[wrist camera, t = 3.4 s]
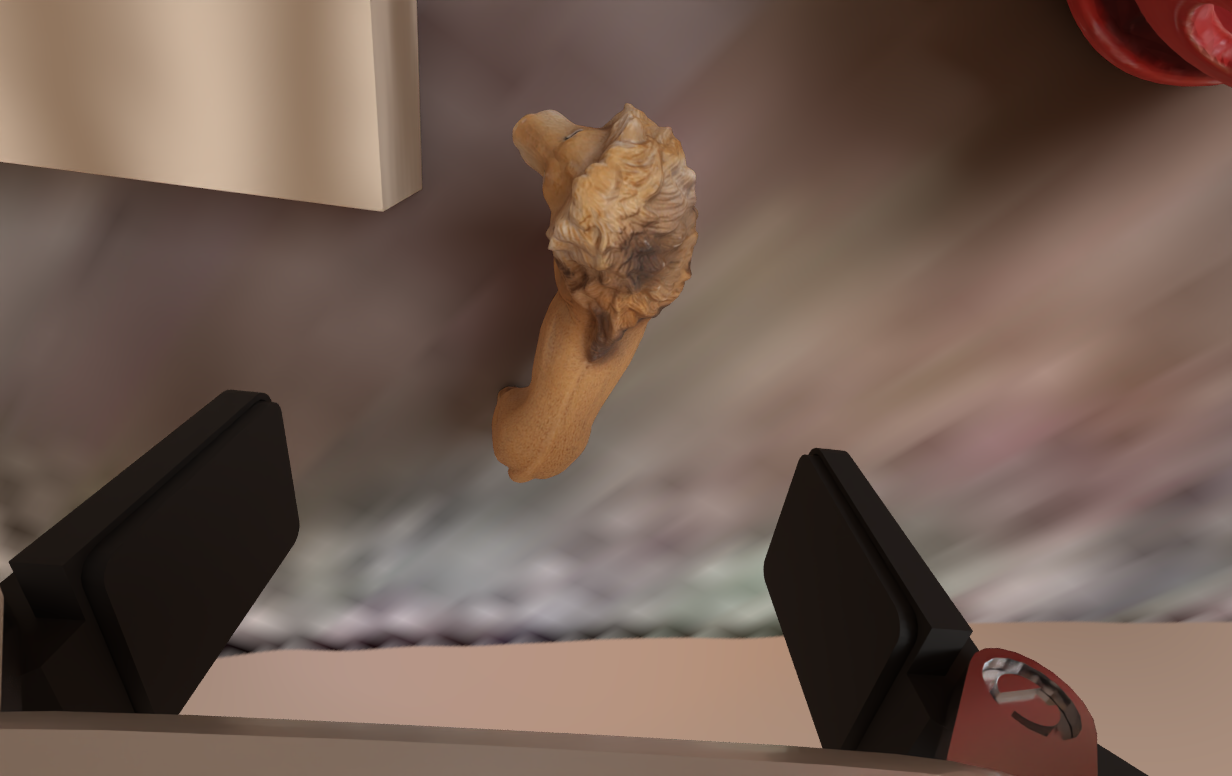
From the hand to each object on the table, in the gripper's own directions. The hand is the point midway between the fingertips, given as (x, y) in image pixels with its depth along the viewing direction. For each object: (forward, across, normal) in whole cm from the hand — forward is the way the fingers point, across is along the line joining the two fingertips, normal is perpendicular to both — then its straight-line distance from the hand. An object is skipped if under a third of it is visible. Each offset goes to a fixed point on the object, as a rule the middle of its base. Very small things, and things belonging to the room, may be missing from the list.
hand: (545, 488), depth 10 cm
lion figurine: (+13, 0, 0) cm, 13 cm away
